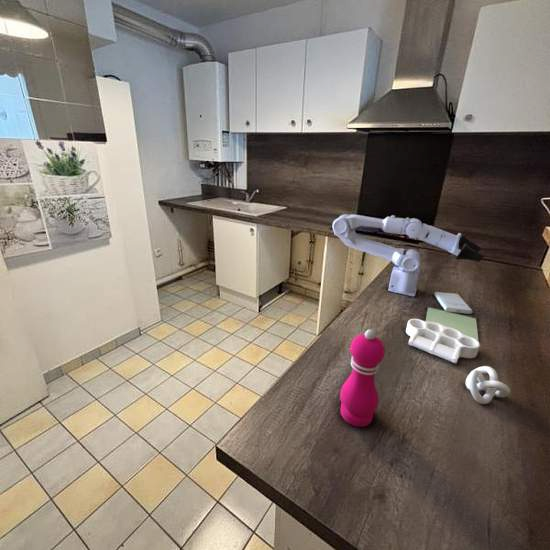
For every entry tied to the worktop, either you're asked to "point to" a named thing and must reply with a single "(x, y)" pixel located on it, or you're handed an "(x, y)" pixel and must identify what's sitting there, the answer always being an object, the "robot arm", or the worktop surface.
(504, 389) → the knot
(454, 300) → the hard drive
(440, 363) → the worktop surface
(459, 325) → the mat
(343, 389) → the pepper mill
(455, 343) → the white brass knuckles
